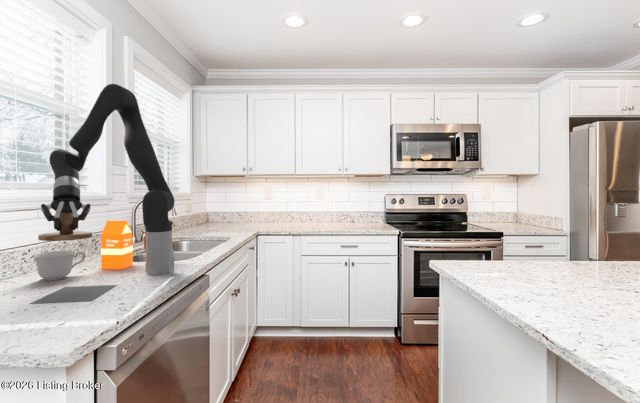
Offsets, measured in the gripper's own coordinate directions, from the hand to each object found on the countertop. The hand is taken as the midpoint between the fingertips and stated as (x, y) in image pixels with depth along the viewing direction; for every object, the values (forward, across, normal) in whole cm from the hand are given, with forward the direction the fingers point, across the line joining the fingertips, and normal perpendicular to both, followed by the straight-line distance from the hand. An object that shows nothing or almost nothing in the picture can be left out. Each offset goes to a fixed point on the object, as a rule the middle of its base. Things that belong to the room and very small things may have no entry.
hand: (66, 228), depth 104 cm
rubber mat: (+22, +3, +6) cm, 23 cm away
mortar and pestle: (0, +32, +29) cm, 43 cm away
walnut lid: (+1, 0, +4) cm, 4 cm away
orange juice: (-5, +17, +34) cm, 38 cm away
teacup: (+4, -2, +26) cm, 26 cm away
